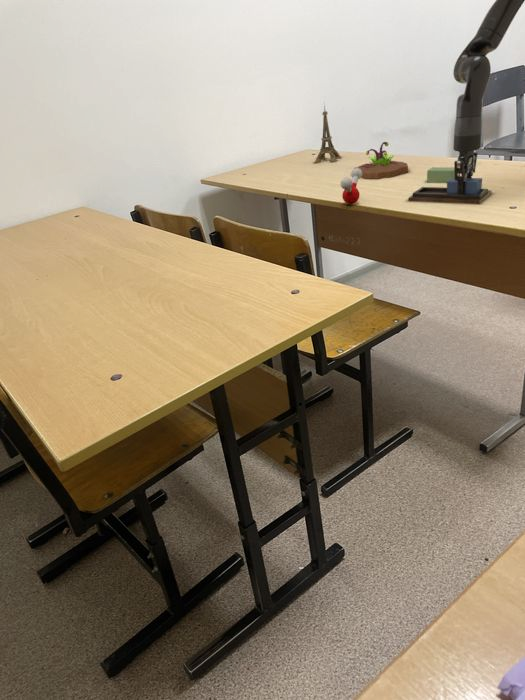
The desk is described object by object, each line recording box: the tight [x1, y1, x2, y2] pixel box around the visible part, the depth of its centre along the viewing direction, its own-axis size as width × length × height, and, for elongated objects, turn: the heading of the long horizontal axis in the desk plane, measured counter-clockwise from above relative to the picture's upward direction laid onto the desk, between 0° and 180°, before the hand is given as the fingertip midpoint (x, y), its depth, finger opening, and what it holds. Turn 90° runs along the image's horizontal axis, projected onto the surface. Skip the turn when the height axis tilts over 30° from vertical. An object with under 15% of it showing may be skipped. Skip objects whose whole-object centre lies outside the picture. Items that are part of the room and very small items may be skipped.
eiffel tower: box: [313, 103, 343, 164], centre depth 240 cm, size 11×11×25 cm
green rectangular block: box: [426, 166, 455, 183], centre depth 185 cm, size 9×5×4 cm, turn 54°
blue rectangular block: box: [446, 177, 483, 195], centre depth 162 cm, size 9×5×4 cm, turn 54°
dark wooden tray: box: [408, 186, 493, 205], centre depth 166 cm, size 22×12×2 cm, turn 54°
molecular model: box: [340, 167, 363, 205], centre depth 172 cm, size 18×6×10 cm, turn 165°
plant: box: [353, 141, 409, 180], centre depth 207 cm, size 20×20×11 cm
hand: (464, 191), depth 163 cm, fingers closed on blue rectangular block, 5 cm apart
